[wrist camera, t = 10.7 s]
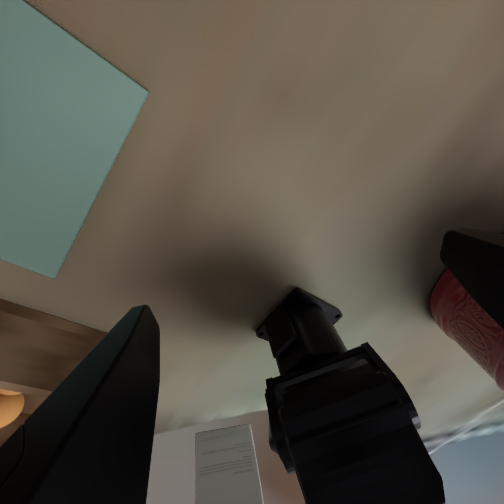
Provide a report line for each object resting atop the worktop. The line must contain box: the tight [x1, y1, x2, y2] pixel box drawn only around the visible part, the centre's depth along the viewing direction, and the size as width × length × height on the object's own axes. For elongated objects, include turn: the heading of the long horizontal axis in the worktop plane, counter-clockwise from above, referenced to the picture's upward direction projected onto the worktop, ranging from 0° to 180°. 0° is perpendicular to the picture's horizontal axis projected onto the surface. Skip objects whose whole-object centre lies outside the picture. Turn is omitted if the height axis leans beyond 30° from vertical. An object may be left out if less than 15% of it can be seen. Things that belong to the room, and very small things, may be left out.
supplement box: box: [195, 424, 264, 504], centre depth 32 cm, size 7×7×13 cm
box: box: [0, 299, 108, 446], centre depth 23 cm, size 13×13×6 cm
